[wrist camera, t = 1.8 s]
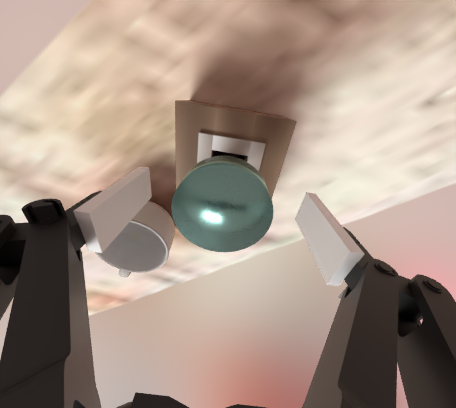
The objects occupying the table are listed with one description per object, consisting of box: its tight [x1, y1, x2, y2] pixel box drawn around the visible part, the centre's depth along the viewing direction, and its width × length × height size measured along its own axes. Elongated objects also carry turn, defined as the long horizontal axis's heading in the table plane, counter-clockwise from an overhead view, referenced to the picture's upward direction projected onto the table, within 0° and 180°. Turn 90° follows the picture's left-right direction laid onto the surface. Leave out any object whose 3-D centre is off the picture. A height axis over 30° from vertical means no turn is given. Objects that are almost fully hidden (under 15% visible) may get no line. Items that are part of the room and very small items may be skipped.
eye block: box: [175, 100, 296, 199], centre depth 22 cm, size 12×12×6 cm
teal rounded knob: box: [171, 152, 273, 252], centre depth 19 cm, size 7×7×15 cm
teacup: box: [95, 201, 175, 277], centre depth 29 cm, size 14×11×8 cm
